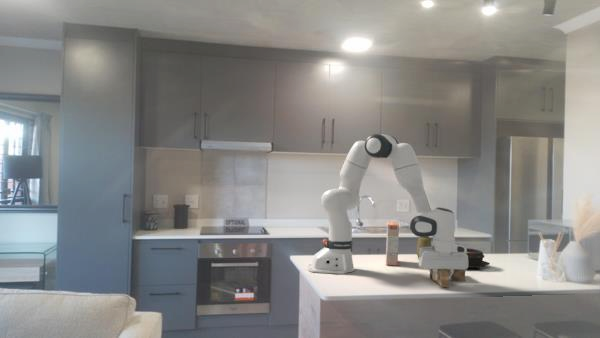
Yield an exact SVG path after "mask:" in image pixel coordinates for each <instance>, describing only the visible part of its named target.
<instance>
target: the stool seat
mask: <svg viewBox="0 0 600 338" xmlns="http://www.w3.org/2000/svg"><path fill="white" fill-rule="evenodd" d="M444 270H446V271H447V272H450V271H449V269H444ZM429 279H430V280H433V279H432V269H429ZM433 281H434V280H433ZM451 281H452V282H455V281H456V282H457V281H458V282H465V281H466V270H459V269H454V272H453V274H452V276H451V280H449V282H451Z"/></svg>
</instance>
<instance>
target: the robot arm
mask: <svg viewBox="0 0 600 338" xmlns="http://www.w3.org/2000/svg"><path fill="white" fill-rule="evenodd" d="M374 158H375V159H388V160H389V161H390V162H391V164H392V167H393V170H394V175H395V179H396V180H397V182H398V184H399V185H400V187H402V188H403V189H404V190H405V191H407V193H409V195H410V197H411V200H412V203H413V206H414V209H415V211H416V216H414V217H413V218H412V219H411V221H410V223H409V228H410V229H409V230H410V231H411V232H412V234H413V235H414V236H416V237H418V238H420V237H428V236H429V237H432V245H431V246H428V247H426V246H423V247H422V248H423V249H422V248H420V250H419V255H420V257H419V259H418V266H419V268H421V269H422V270H430V269H433V272H434V274H435V279H436V280H440V275H438V274H437V272H438V269H449V271H450V272H449V280H451V276H452V274H453V272H454V269H459V270H465V271H466V270H468V269H467V268H468V256H467V254H466V253H465V252H466V251H467V247H466V246H464V245H462V244H460V243H456V238H455V233H456V216H455V213H454V212H453V211H452V210H451V209H449V208H446V207H445V208H444V207H436V208H434V209H431V206H430V204H429V201H428V198H427V194H426V191H425V187H424V182H423V175H422V171H421V166H420V163H419V160H418V157H417V154H416V152H415V150H414V148H413V147H412V145H411V144H410V143H406V142H399V141H398V140H397V138H395V137H394V136H392V135H389V134H384V133H373V134H371V135H369V136H368V137H367V138H366V139H365V140H357V141H355V142H354V143H353V145H352V147H351V148H350V150H349V151H348V153H347V155H346V157H345V159H344V163H343V165H342V167H341V169H340V171H339V177H340V183H339V187H338V188H331V189H329V190H326V191H324V193H323V194H322V195H321V198H320V203H321V207H323V209H324V210H325V212H326V216H327V221H328V239H323V240H322V243H323V245H324V247H323V248H322V249H320V250H318V251H317V252H316V253H315V254H314V255H313V257H312V261H311V262H312V263H310V264H308V265H307V270H308V271H309V272H312V273H319V274H323V273H324V274H339V275H344V274H347V273H351V272H354V271H355V266H354V262H353V251H354V250H353V249H354V248H353V247H354V246H353V245H354V244H353V239H352V238H353V237H352V236H353V235H352V233H353V224H352V222H351V221H350V219H349V215H348V211H351V210H354V209H355V208H357V207H358V206H359V204H360V202H361V201H360V200H361V197H360V190H361V185H362V182H363V179H364V177H365V175H366V172H367V170H368V168H369V165H370V163H371V161H372V159H374ZM429 237H428V238H429Z"/></svg>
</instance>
